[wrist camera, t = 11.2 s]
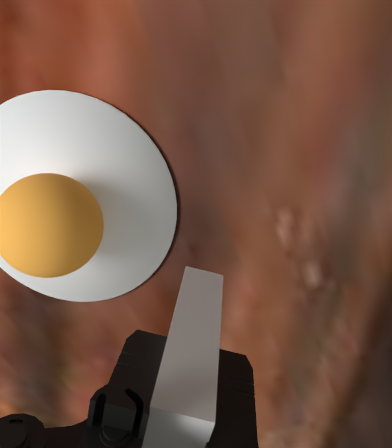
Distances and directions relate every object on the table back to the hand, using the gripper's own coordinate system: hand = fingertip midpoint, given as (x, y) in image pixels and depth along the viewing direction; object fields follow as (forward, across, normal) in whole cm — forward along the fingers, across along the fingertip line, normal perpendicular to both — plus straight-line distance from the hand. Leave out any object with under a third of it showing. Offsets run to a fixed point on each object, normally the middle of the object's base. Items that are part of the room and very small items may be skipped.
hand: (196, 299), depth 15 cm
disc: (+8, -8, -1) cm, 11 cm away
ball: (+5, -8, -1) cm, 10 cm away
